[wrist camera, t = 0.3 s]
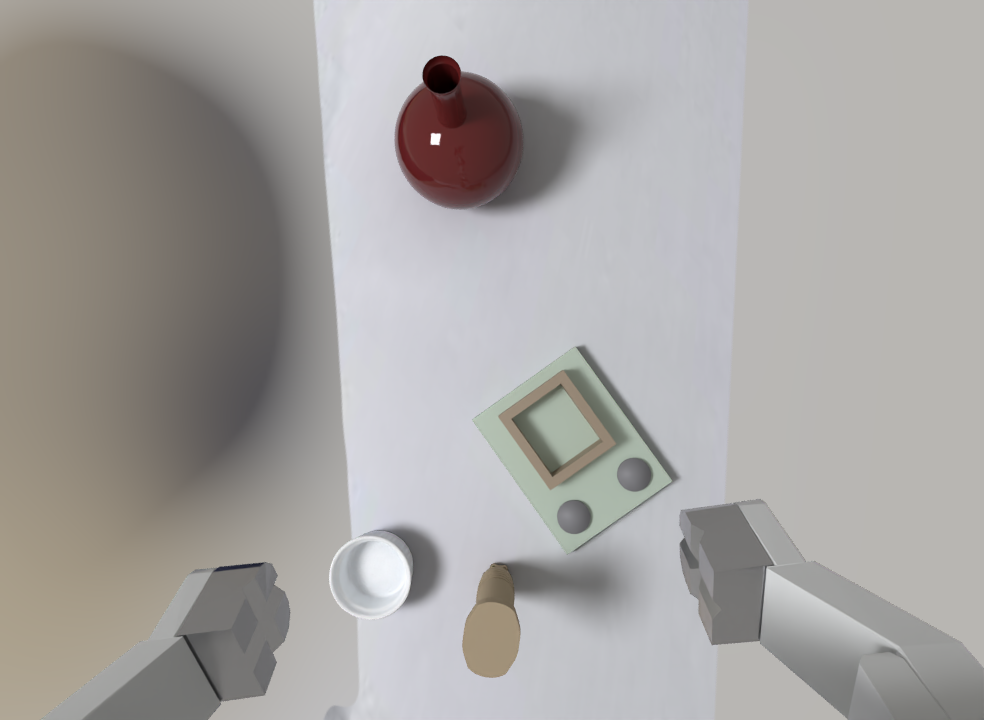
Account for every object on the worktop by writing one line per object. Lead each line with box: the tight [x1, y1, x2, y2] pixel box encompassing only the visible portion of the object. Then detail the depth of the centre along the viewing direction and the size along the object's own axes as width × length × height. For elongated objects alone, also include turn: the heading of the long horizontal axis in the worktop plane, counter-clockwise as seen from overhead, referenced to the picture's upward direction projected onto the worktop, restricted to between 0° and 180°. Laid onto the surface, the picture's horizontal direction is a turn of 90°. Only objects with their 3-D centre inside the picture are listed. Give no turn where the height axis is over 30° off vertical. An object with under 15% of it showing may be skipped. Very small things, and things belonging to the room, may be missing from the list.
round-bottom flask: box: [395, 56, 524, 209], centre depth 55 cm, size 13×13×20 cm
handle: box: [462, 563, 520, 678], centre depth 56 cm, size 5×6×15 cm
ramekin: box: [329, 531, 413, 620], centre depth 62 cm, size 9×9×4 cm
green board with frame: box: [472, 347, 672, 555], centre depth 61 cm, size 18×14×4 cm
